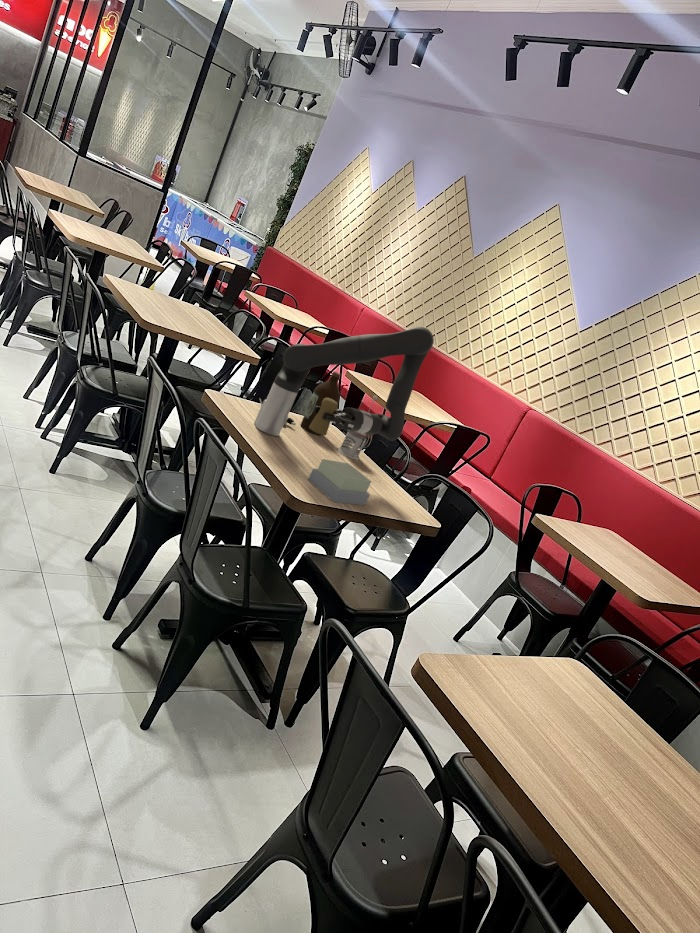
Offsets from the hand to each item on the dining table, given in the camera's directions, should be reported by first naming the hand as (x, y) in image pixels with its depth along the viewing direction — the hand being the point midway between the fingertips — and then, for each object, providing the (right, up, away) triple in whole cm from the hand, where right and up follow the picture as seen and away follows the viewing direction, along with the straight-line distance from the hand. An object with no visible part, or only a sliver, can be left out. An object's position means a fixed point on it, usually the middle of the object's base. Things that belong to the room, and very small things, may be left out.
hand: (319, 412), depth 217 cm
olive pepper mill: (-1, -6, +4) cm, 7 cm away
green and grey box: (+5, -25, +4) cm, 26 cm away
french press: (+9, -12, +52) cm, 54 cm away
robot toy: (-20, +2, +53) cm, 57 cm away
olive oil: (-6, -2, +61) cm, 61 cm away
